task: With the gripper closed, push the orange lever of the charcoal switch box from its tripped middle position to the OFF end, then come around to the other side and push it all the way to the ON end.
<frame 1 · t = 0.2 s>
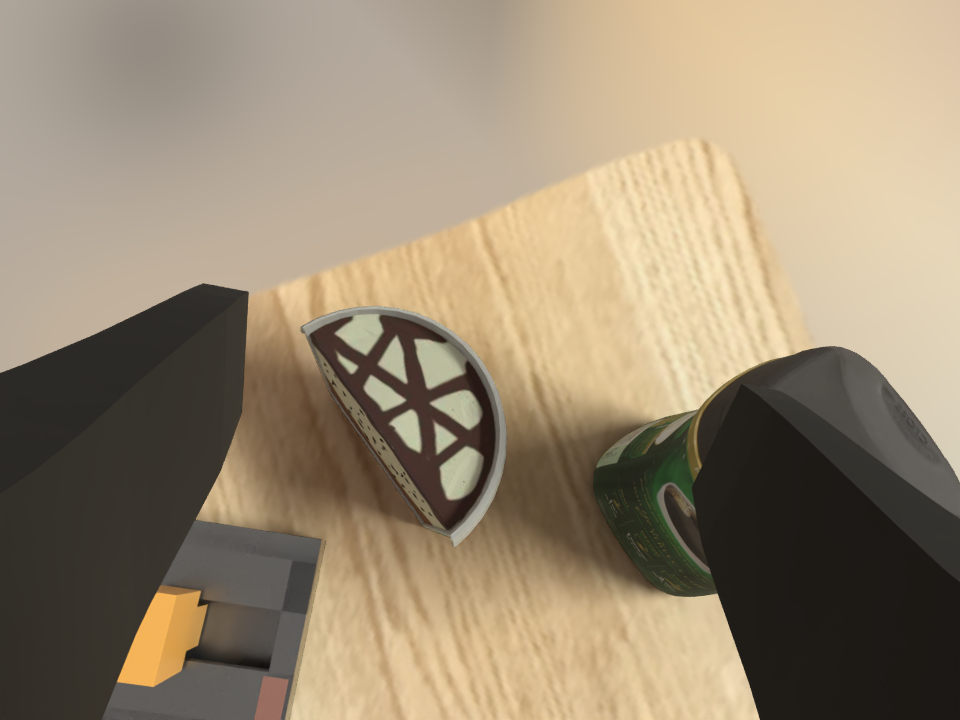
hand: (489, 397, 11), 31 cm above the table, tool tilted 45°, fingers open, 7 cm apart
food container: (420, 428, 42), on the table
coffee jar: (665, 505, 43), on the table
switch box: (189, 621, 38), on the table
lever: (167, 629, 34), point 4 cm above the table, slide at 0.0 cm
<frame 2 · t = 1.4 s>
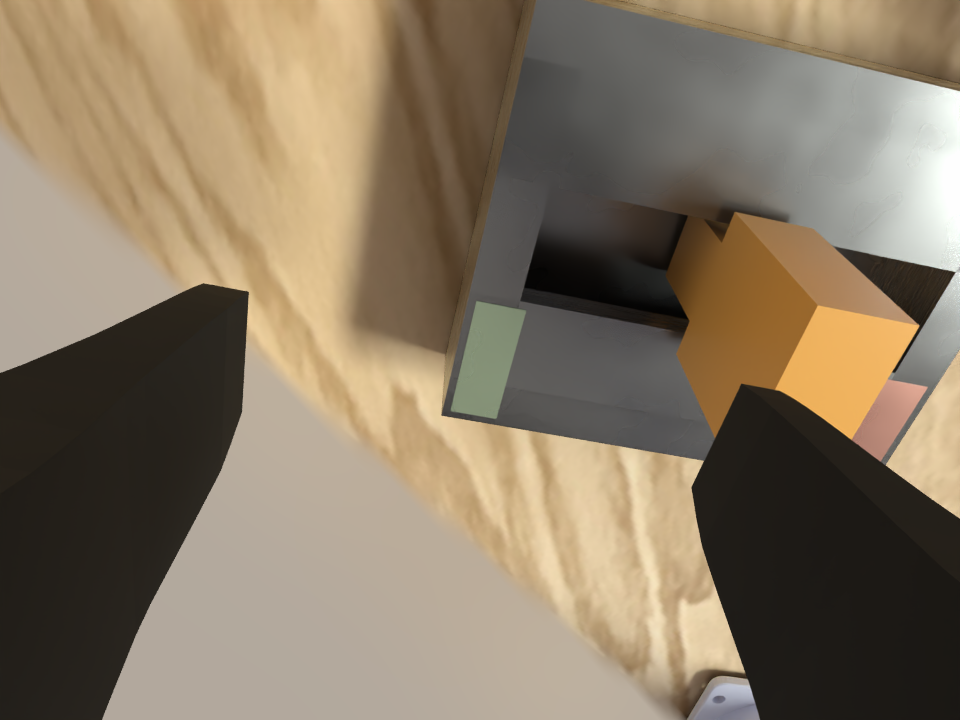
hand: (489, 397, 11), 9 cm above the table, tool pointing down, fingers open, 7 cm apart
switch box: (701, 238, 19), on the table
lever: (752, 310, 16), point 4 cm above the table, slide at 0.0 cm
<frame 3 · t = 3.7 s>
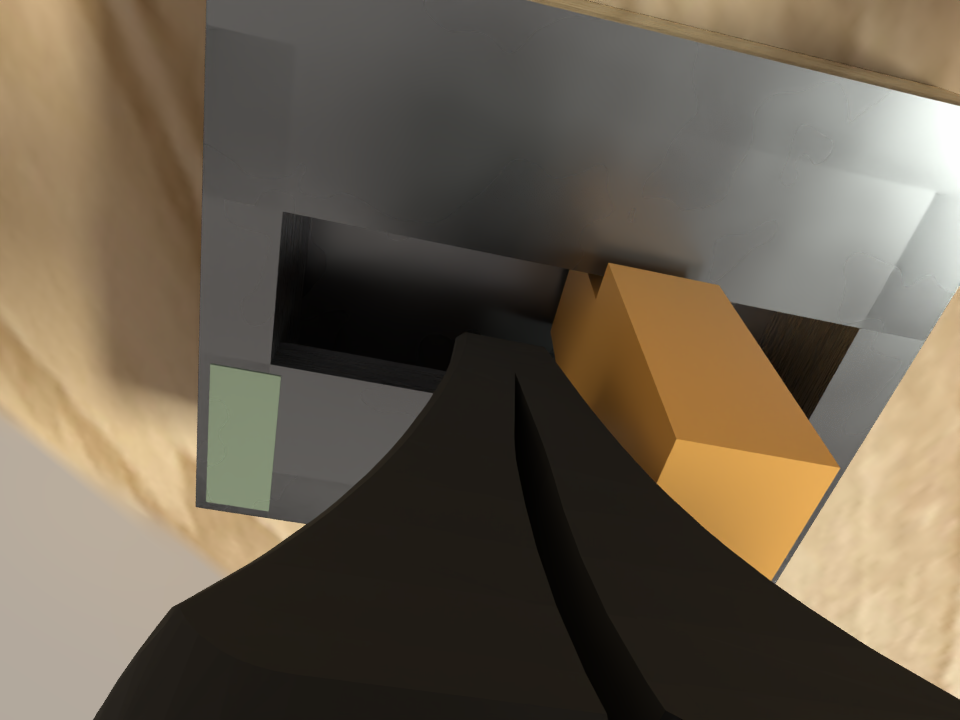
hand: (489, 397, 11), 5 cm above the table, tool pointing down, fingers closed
switch box: (546, 272, 15), on the table
lever: (636, 397, 11), point 4 cm above the table, slide at -1.1 cm, touching gripper
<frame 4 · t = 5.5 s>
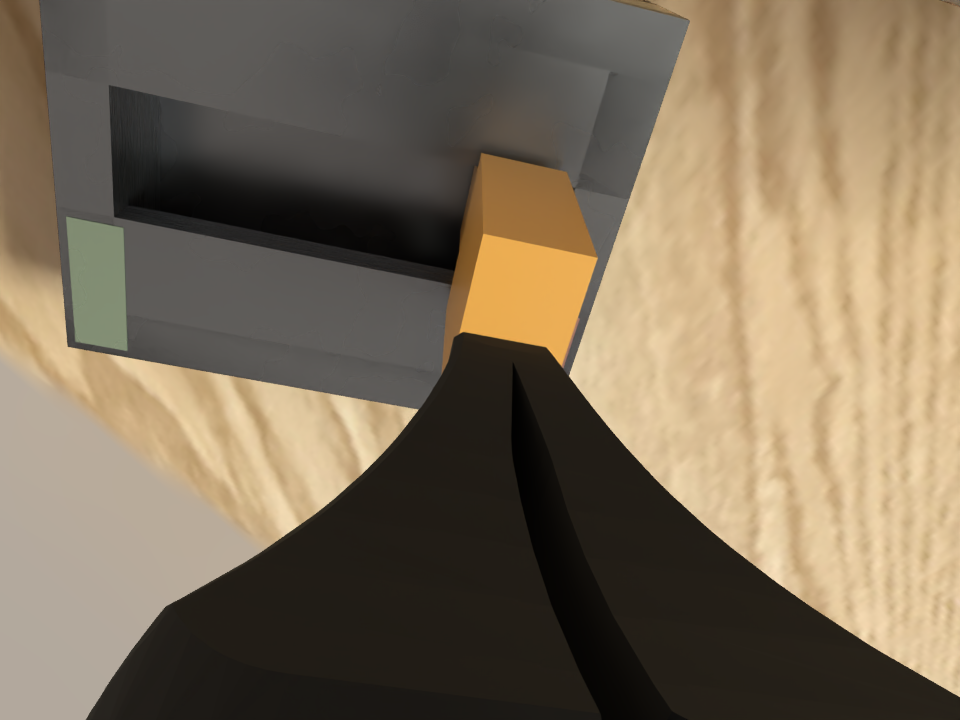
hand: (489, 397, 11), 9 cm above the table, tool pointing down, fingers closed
switch box: (361, 162, 18), on the table
lever: (504, 258, 15), point 4 cm above the table, slide at -3.6 cm
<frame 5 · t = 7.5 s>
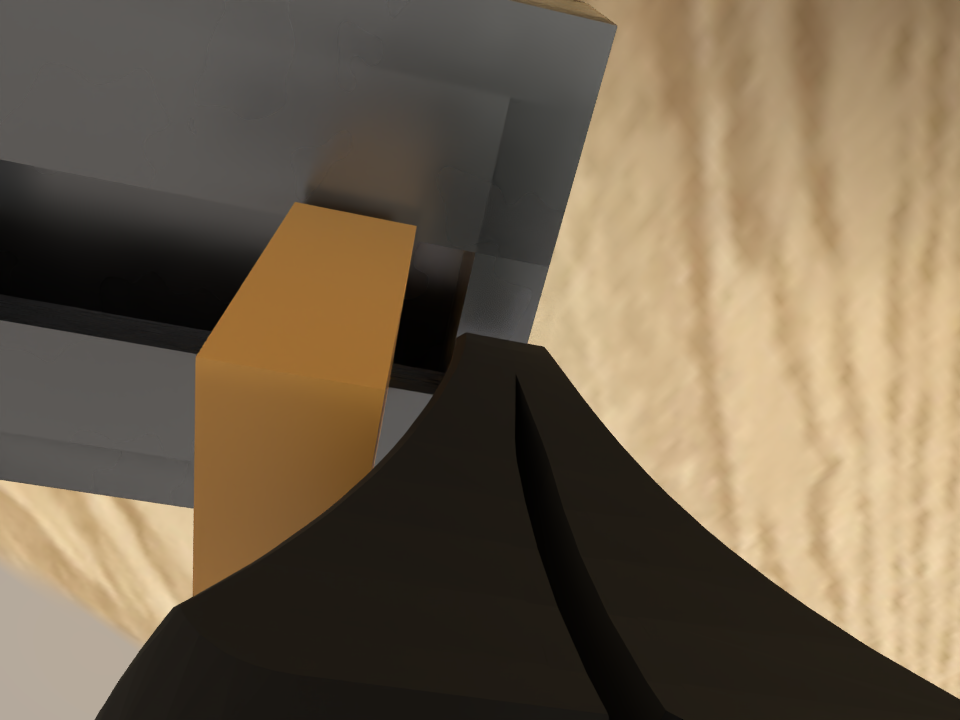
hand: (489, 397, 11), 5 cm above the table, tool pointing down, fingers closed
switch box: (220, 210, 14), on the table
lever: (334, 344, 11), point 4 cm above the table, slide at -2.9 cm, touching gripper
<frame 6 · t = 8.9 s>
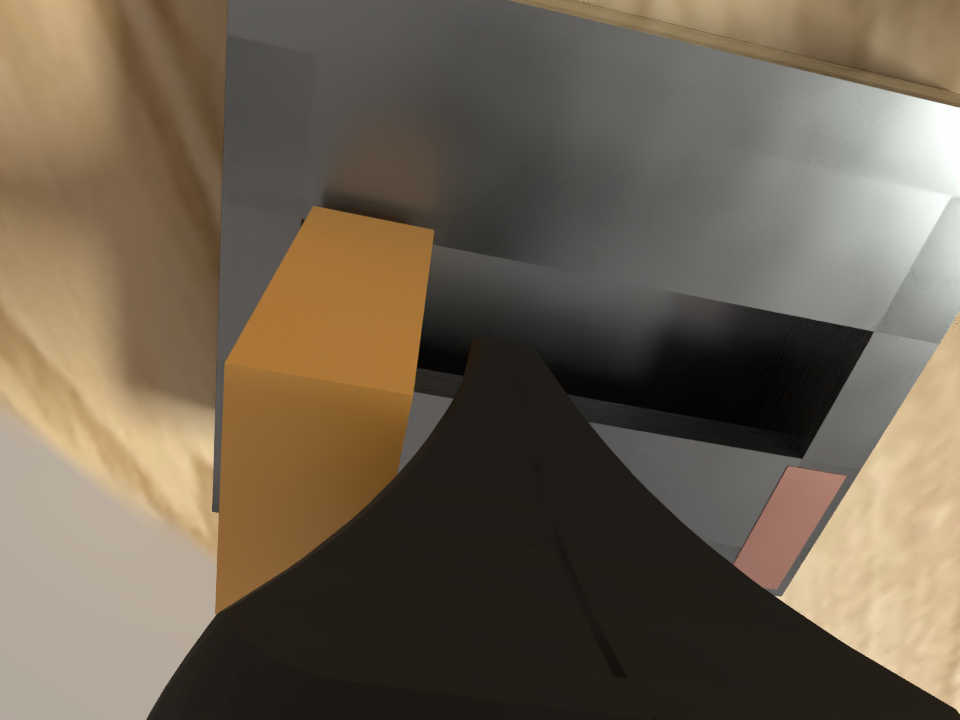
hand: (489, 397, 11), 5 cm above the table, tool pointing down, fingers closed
switch box: (559, 277, 15), on the table
lever: (351, 348, 11), point 4 cm above the table, slide at 3.7 cm, touching gripper
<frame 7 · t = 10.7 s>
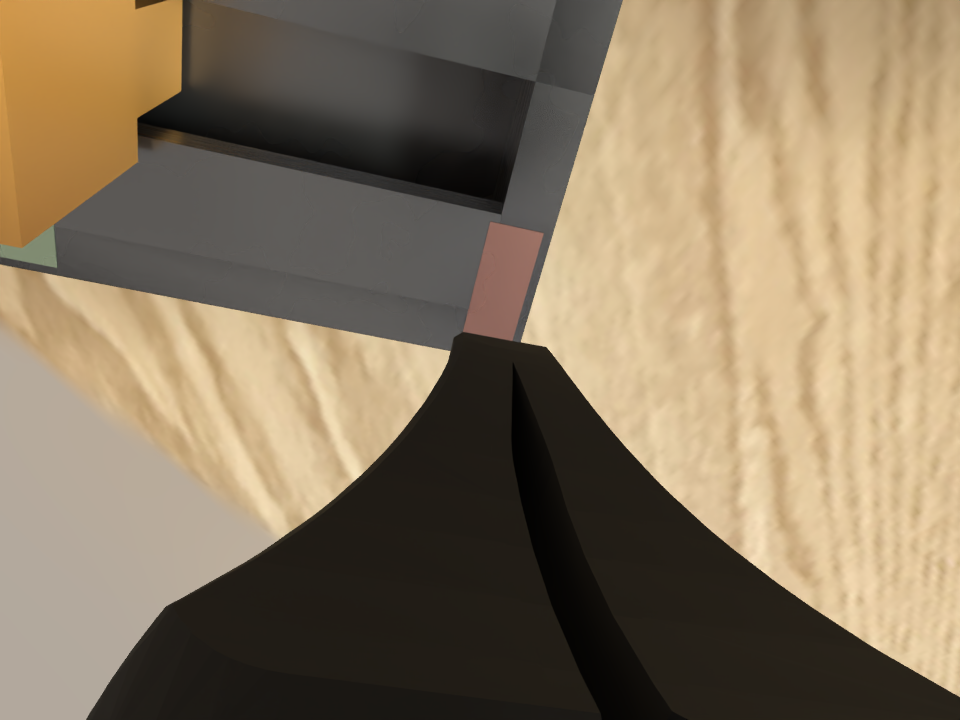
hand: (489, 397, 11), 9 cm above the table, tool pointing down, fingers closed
switch box: (311, 69, 17), on the table
lever: (66, 65, 13), point 4 cm above the table, slide at 3.6 cm
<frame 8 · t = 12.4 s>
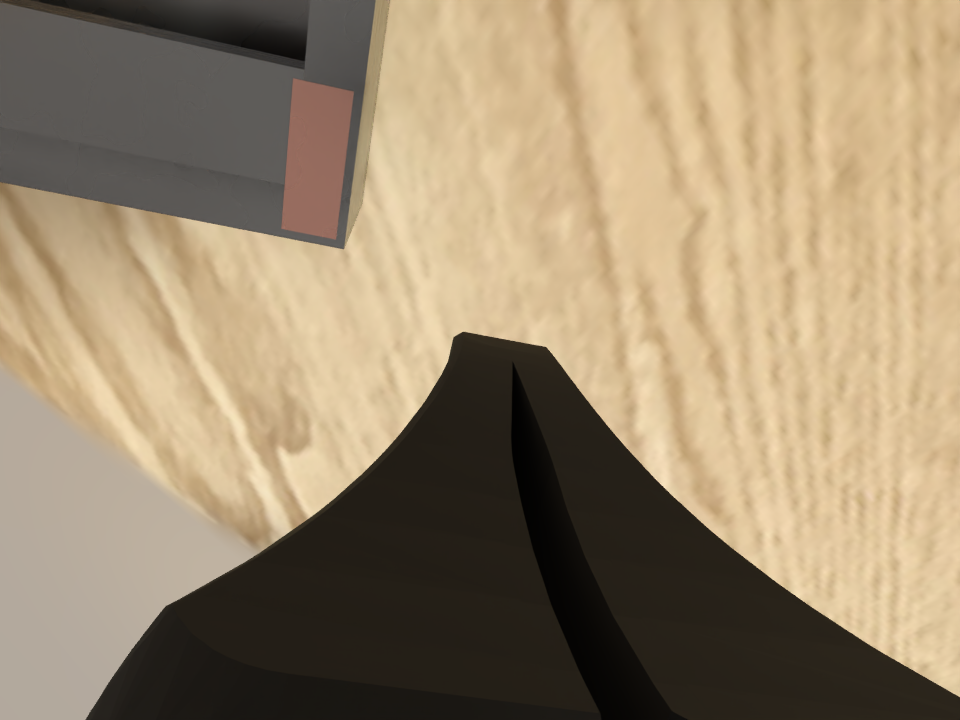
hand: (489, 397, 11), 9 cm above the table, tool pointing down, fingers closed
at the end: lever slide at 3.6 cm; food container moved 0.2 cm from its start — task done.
